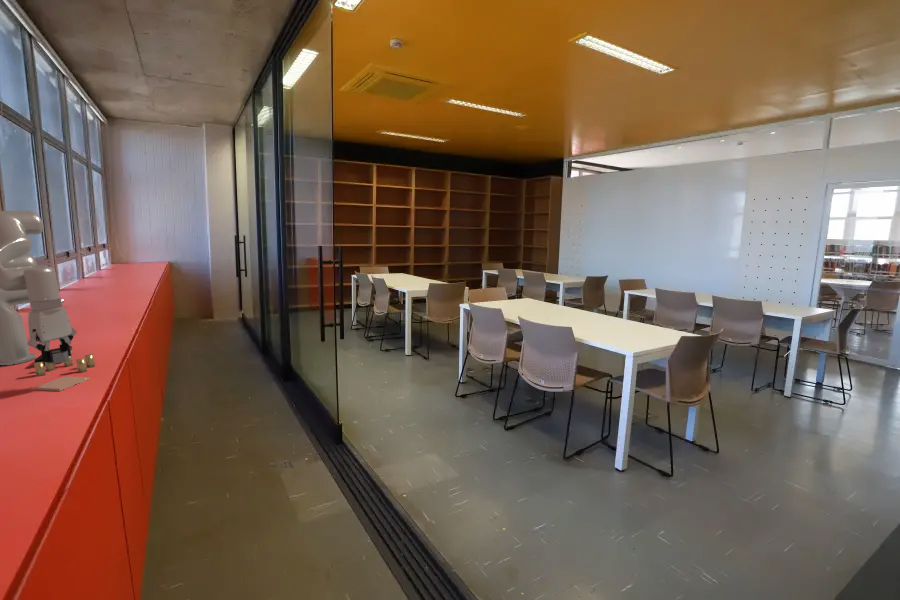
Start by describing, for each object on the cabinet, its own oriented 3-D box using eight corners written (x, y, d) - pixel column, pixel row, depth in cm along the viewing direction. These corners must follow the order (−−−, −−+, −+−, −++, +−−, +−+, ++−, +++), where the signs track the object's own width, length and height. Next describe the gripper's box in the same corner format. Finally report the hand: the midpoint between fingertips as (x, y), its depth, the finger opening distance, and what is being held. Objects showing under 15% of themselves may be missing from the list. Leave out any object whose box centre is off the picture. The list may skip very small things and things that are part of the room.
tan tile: (34, 389, 145) (34, 387, 144) (65, 378, 154) (65, 376, 154) (60, 391, 143) (59, 388, 143) (89, 379, 153) (89, 377, 152)
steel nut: (43, 363, 145) (41, 354, 144) (59, 358, 150) (57, 349, 149) (57, 363, 144) (55, 354, 143) (73, 358, 149) (71, 350, 148)
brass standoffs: (30, 375, 158) (27, 363, 157) (65, 364, 170) (62, 352, 169) (68, 377, 155) (66, 365, 154) (101, 365, 167) (99, 354, 166)
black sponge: (62, 364, 170) (60, 355, 170) (34, 368, 167) (32, 359, 166) (74, 353, 185) (73, 344, 184) (48, 356, 181) (46, 348, 180)
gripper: (63, 300, 152) (73, 351, 156) (7, 311, 136) (20, 367, 139) (81, 300, 151) (91, 351, 154) (27, 311, 134) (39, 368, 138)
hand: (57, 358), depth 147 cm, fingers closed on steel nut, 5 cm apart
